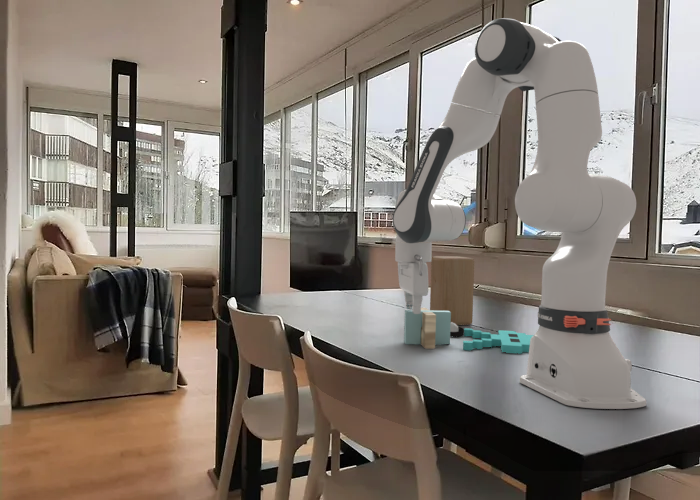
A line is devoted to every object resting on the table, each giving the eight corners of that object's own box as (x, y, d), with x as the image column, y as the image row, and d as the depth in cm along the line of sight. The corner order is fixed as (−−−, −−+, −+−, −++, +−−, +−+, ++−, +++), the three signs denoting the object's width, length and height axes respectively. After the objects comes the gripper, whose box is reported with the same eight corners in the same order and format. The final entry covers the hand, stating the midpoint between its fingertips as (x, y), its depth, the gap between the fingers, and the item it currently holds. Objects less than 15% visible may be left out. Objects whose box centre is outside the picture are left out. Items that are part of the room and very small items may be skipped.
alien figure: (462, 351, 135) (552, 357, 131) (463, 342, 135) (552, 348, 131) (464, 336, 154) (541, 341, 150) (464, 328, 154) (542, 332, 150)
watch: (466, 336, 153) (467, 323, 153) (460, 339, 149) (460, 325, 149) (440, 333, 157) (440, 320, 157) (432, 335, 153) (433, 322, 153)
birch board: (435, 348, 135) (436, 314, 135) (425, 348, 135) (425, 314, 135) (424, 338, 147) (425, 307, 147) (415, 338, 147) (416, 307, 147)
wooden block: (428, 320, 176) (430, 255, 176) (457, 320, 179) (459, 256, 179) (443, 326, 167) (445, 257, 166) (473, 325, 170) (475, 258, 169)
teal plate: (449, 344, 141) (450, 312, 140) (405, 344, 140) (406, 311, 140) (447, 342, 143) (448, 310, 143) (403, 342, 142) (404, 310, 142)
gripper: (435, 255, 130) (434, 316, 130) (418, 253, 150) (417, 306, 150) (407, 255, 129) (407, 316, 129) (394, 253, 150) (393, 306, 150)
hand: (412, 311), depth 140 cm, fingers open, 8 cm apart
